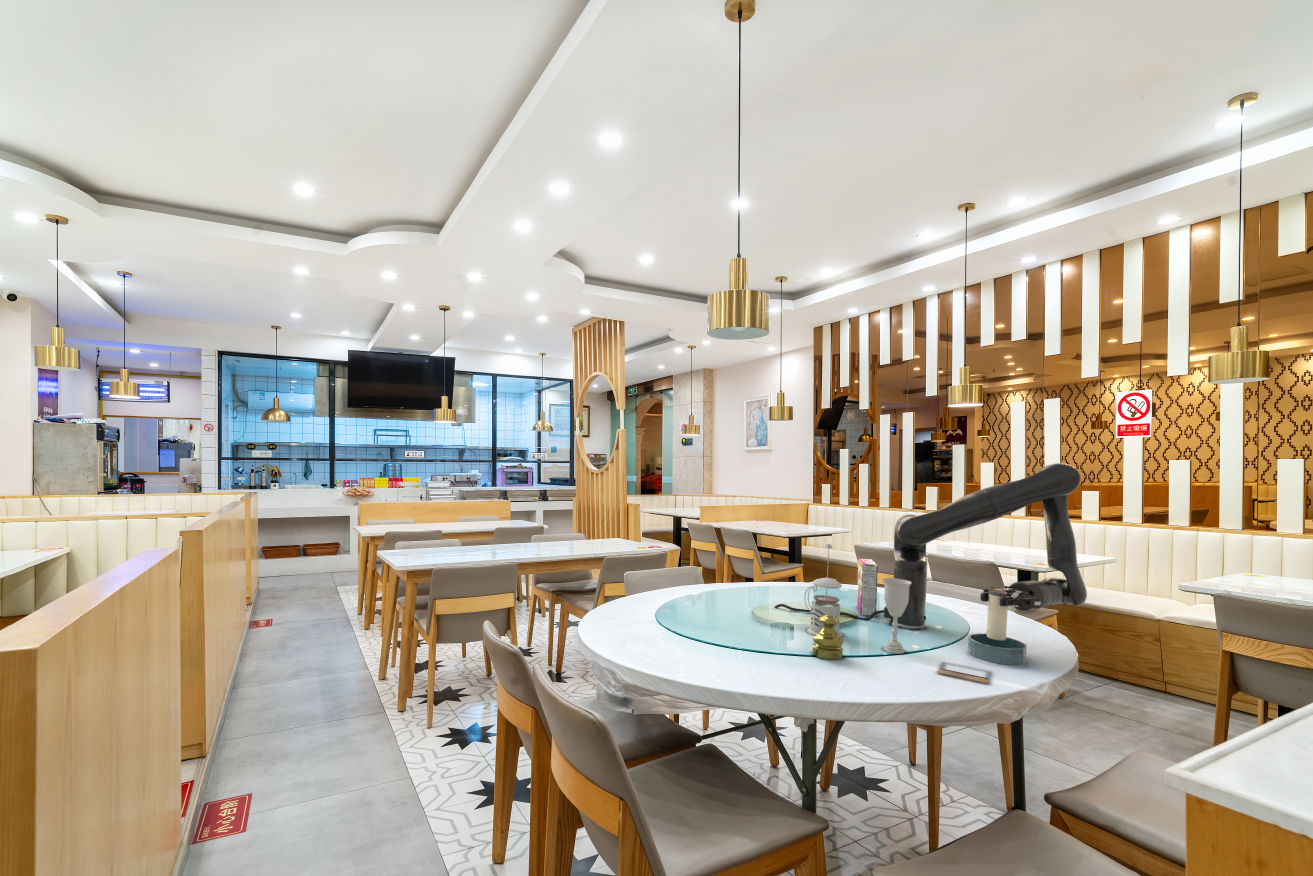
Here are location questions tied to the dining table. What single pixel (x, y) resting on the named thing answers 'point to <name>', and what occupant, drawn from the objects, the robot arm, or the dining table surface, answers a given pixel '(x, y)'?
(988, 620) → the cream shaker
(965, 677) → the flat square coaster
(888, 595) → the chalice
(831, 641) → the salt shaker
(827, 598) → the french press
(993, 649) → the bowl
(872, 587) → the candy bar box
